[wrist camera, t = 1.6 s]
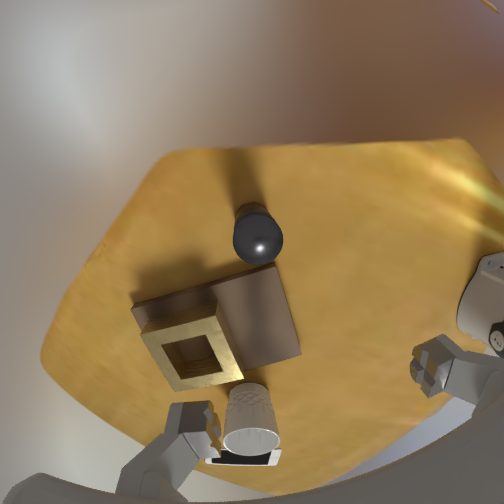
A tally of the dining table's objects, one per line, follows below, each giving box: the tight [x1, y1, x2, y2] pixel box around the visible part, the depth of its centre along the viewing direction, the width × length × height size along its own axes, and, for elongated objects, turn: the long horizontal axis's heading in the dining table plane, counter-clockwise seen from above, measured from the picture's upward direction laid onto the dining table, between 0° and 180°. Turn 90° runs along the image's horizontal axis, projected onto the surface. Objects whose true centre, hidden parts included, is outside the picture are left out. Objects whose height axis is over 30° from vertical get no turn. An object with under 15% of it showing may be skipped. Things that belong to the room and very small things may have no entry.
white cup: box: [223, 383, 280, 456], centre depth 35 cm, size 8×8×10 cm
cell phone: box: [205, 448, 282, 466], centre depth 46 cm, size 8×16×1 cm, turn 85°
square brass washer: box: [140, 300, 244, 392], centre depth 33 cm, size 10×10×4 cm
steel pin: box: [233, 202, 283, 265], centre depth 27 cm, size 4×4×11 cm
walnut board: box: [130, 262, 302, 371], centre depth 36 cm, size 20×14×2 cm
